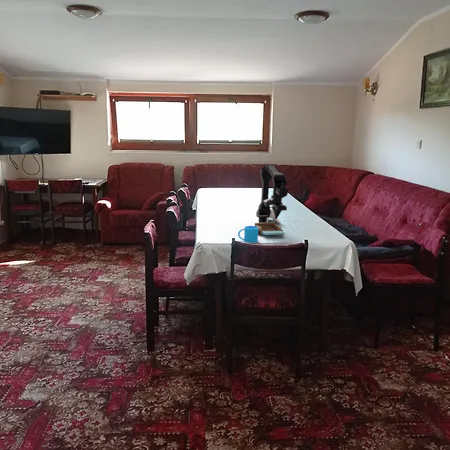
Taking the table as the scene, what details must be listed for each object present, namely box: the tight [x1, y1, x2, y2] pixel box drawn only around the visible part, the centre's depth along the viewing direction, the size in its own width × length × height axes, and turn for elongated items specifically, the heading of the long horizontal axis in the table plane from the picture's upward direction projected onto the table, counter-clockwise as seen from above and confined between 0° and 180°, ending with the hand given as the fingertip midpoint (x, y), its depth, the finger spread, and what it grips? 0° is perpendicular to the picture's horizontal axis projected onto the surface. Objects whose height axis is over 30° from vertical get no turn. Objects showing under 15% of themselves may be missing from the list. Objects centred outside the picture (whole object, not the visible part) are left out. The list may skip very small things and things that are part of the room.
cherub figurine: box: [267, 206, 282, 225], centre depth 301 cm, size 13×12×20 cm
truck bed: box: [254, 221, 284, 236], centre depth 268 cm, size 12×16×6 cm
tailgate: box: [261, 231, 286, 236], centre depth 259 cm, size 1×14×7 cm
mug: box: [237, 225, 259, 243], centre depth 247 cm, size 12×8×8 cm
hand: (276, 218), depth 261 cm, fingers closed
